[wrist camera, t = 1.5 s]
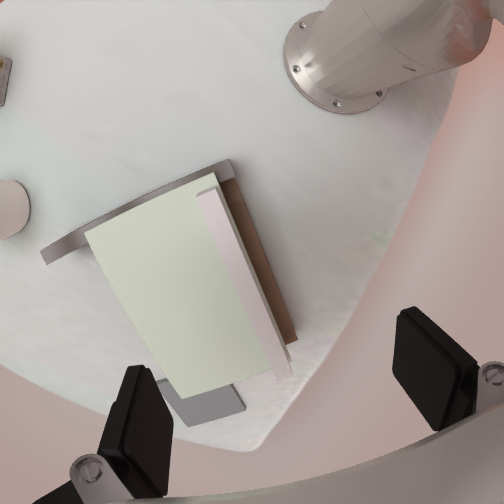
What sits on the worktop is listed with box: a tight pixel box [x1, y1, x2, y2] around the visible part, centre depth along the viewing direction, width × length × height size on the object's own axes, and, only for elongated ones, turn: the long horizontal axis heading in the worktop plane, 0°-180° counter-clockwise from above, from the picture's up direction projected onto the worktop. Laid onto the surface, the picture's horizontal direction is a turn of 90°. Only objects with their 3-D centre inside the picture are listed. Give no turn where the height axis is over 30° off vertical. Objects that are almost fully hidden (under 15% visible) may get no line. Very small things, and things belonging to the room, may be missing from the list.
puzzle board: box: [40, 159, 298, 345], centre depth 31 cm, size 20×21×6 cm
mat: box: [156, 378, 246, 427], centre depth 38 cm, size 9×9×1 cm
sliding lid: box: [84, 172, 293, 399], centre depth 26 cm, size 12×19×4 cm, turn 21°
